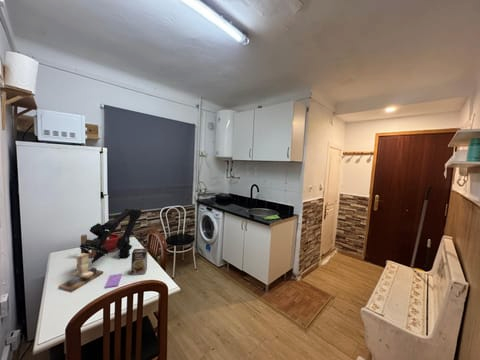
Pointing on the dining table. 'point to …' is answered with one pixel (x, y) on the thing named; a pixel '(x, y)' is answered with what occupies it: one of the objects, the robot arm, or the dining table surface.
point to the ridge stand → (79, 281)
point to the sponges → (113, 281)
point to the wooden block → (93, 252)
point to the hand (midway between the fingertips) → (85, 262)
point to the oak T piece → (82, 266)
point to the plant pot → (111, 242)
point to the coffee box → (139, 261)
